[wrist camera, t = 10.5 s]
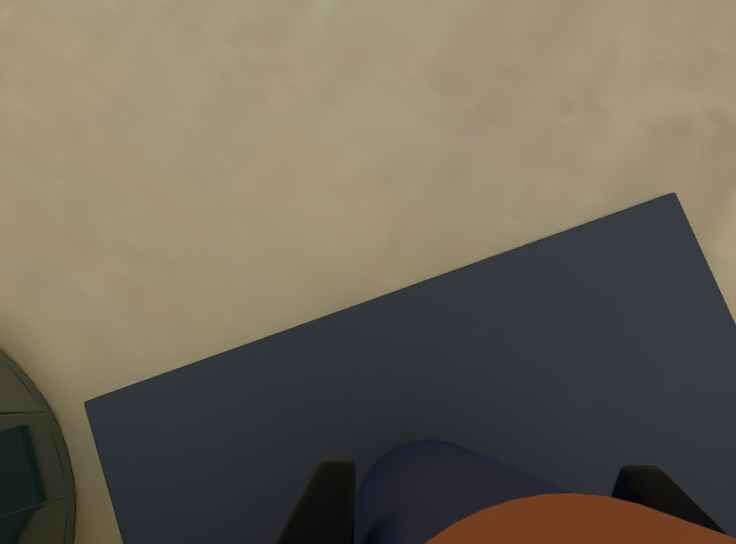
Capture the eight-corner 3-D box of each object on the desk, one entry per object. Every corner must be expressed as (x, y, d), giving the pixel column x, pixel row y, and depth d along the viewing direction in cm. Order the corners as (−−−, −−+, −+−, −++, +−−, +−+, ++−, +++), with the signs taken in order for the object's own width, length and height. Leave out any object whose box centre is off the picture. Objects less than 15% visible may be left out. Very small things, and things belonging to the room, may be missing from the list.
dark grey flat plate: (876, 652, 17) (889, 658, 16) (235, 921, 15) (232, 934, 15) (668, 195, 19) (675, 191, 18) (89, 401, 17) (83, 402, 17)
